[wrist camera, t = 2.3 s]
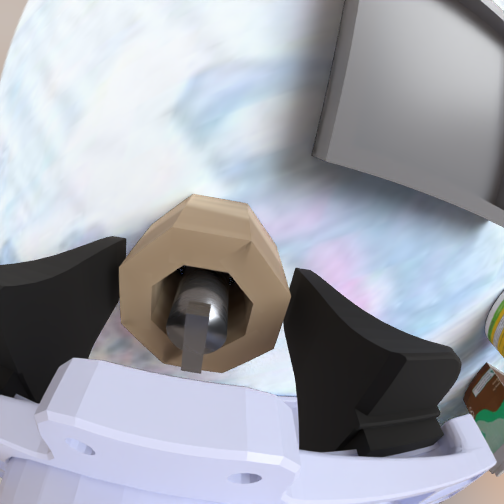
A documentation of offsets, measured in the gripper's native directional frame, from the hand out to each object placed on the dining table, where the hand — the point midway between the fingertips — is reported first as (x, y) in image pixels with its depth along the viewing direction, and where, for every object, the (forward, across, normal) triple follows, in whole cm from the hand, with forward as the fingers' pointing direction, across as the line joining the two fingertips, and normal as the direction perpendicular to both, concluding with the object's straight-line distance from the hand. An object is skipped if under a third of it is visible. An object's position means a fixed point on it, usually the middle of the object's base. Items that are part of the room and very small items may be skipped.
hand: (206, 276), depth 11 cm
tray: (+2, -9, -11) cm, 14 cm away
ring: (+2, 0, 0) cm, 2 cm away
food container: (+2, -28, +10) cm, 30 cm away
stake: (+2, 0, 0) cm, 2 cm away
